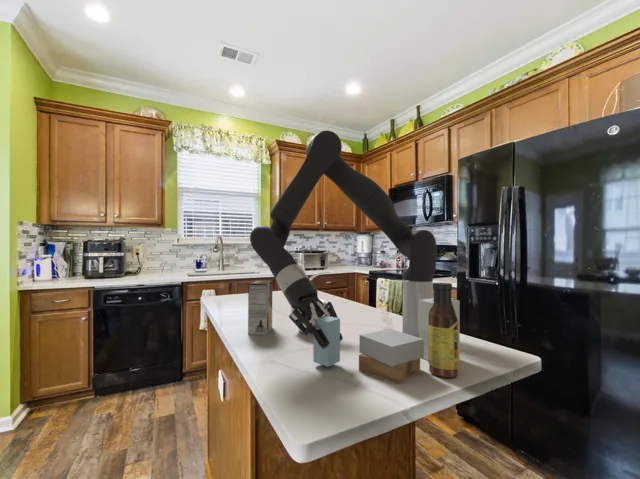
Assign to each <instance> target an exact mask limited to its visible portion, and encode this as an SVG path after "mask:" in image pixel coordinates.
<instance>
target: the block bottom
mask: <svg viewBox="0 0 640 479" xmlns="http://www.w3.org/2000/svg"><path fill="white" fill-rule="evenodd" d="M420 370H421V358H419V359H416V360H413V361H409V362H406V363H403V364H399V365H396V366H389V365H387V364H385V363H382V362H380V361H378V360H376V359H373V358H371V357H369V356H367V355H364V354H362V353H359V355H358V372H360V373H364V374H366V375H369V376H373V377H375V378H376V377H377V378H379V379H383V380H386V381H388V382H389V381H390V382H393V383H395V384H399V385H401V384H403V383H405V381H407V380H408V379H409V378H411V377H412V376H414V375H415V374H417V373H418V372H419V371H420Z"/></svg>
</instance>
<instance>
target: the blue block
mask: <svg viewBox="0 0 640 479" xmlns="http://www.w3.org/2000/svg"><path fill="white" fill-rule="evenodd" d="M316 321H317V323H318V325H319V327H320V329H319V330H322V331H323V333H324V335H325V336H326V338H327V339H328V341H329V345H328V346H327V347H326V348H324V349H323V348H322V347H321V346H320V345H319V344H318V342H317V341H316V339H315V337H314V336H313V339H312V342H313V345H312V346H313V350H312V352H313V353H312V354H313V355H312V356H313V361H312V362H313V363H316V364H318V365H322V366H323V367H324V366H325V367H327V368H329V367H330V366H332V365H335V364H337V363H339V362H341V341H340V333H341V318H340V317H338V318H335V317H330V316H324V315H323V316H322V317H319V318H318V319H317V320H316Z"/></svg>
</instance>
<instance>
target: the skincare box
mask: <svg viewBox="0 0 640 479" xmlns="http://www.w3.org/2000/svg"><path fill="white" fill-rule="evenodd" d="M451 299H452V304H453V307H454V310H455V313H456V316H457V318H458V346H459V347H458V351H459V359H460V358H461V356H460V354H461V353H460V352H461V351H460V350H461V349H460V345H461V344H460V343H461V342H460V341H461V340H460V339H461V338H460V336H461V335H460V332H461V331H460V330H461V329H460V326H461V323H460V320H461V319H460V315H461V314H460V310H461V309H460V307H461V306H460V304H461V303H460V302H461V301H460V300H459V299H453V298H451ZM433 300H434V297H433V298H431V299H423V300H419V301H420V338H422V339H424V357H423V358H422V359H424V360H426V361H428V362H429V355H428V324H429V311H430V309H431V307H432V306H433V304H434V301H433Z"/></svg>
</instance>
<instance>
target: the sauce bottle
mask: <svg viewBox="0 0 640 479" xmlns="http://www.w3.org/2000/svg"><path fill="white" fill-rule="evenodd" d="M452 291H453V285H452V283H450V282H433V298H434V300H433V301H434V304H433V306H432V307H431V309H430V311H429V324H428V355H429V361H428V365H429V367H428V368H429V369H428V370H429V372H430V373H431V374H432V375H434V376H437V377H440V378H446V379H447V378H448V379H449V378H450V379H451V378H455V377H456V376H458V375H459V367H460V363H459V361H460V360H459V351H458V347H459V346H458V318H457V316H456V313H455V310H454V307H453V304H452V299H453V298H452Z"/></svg>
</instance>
